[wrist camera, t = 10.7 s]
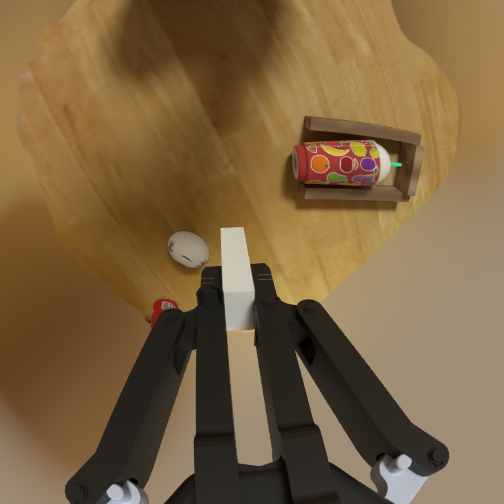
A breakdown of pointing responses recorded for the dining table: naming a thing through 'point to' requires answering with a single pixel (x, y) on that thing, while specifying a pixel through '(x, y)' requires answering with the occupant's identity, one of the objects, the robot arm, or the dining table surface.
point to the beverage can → (161, 308)
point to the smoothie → (341, 163)
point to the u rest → (398, 193)
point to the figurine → (188, 249)
